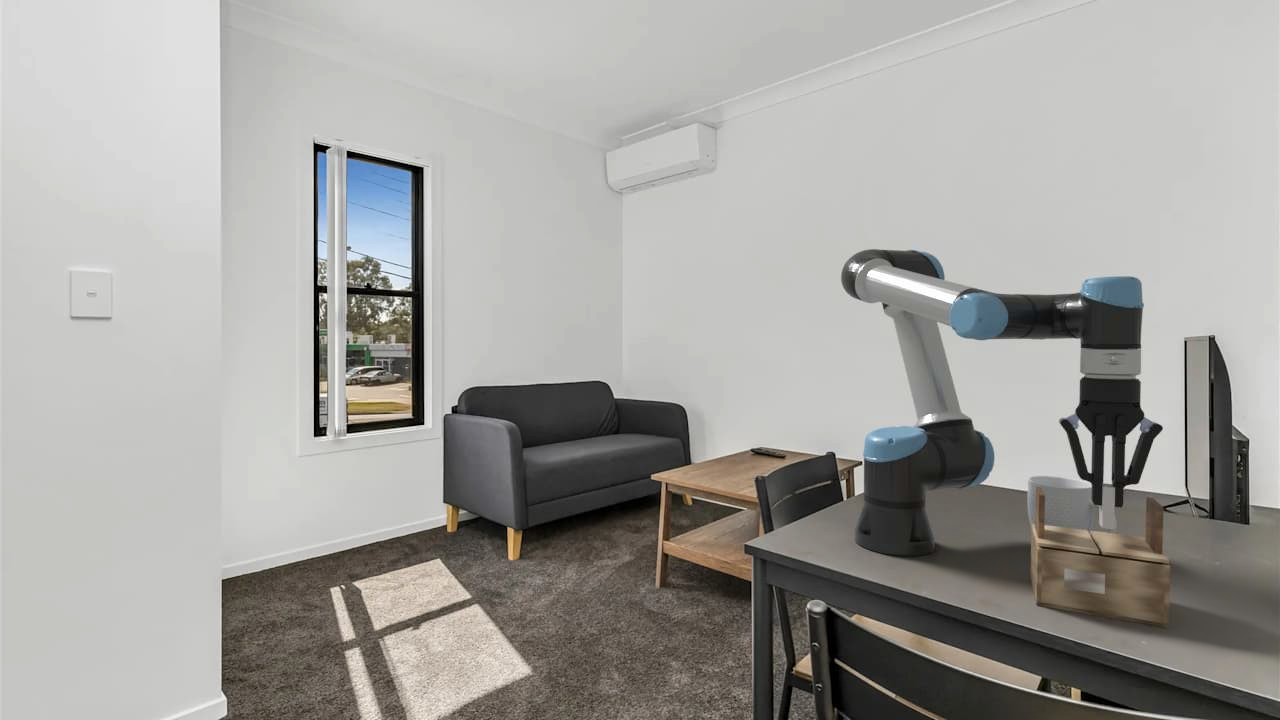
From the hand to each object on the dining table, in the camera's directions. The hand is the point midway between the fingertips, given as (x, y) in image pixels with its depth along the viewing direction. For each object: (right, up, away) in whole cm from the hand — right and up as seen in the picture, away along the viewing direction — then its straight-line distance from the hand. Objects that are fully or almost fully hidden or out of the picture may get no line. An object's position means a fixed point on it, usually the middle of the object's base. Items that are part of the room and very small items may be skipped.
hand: (1106, 526), depth 95 cm
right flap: (+2, -3, -1) cm, 4 cm away
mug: (+11, -12, +26) cm, 30 cm away
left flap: (-5, -3, +3) cm, 6 cm away
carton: (-1, -12, +1) cm, 12 cm away
